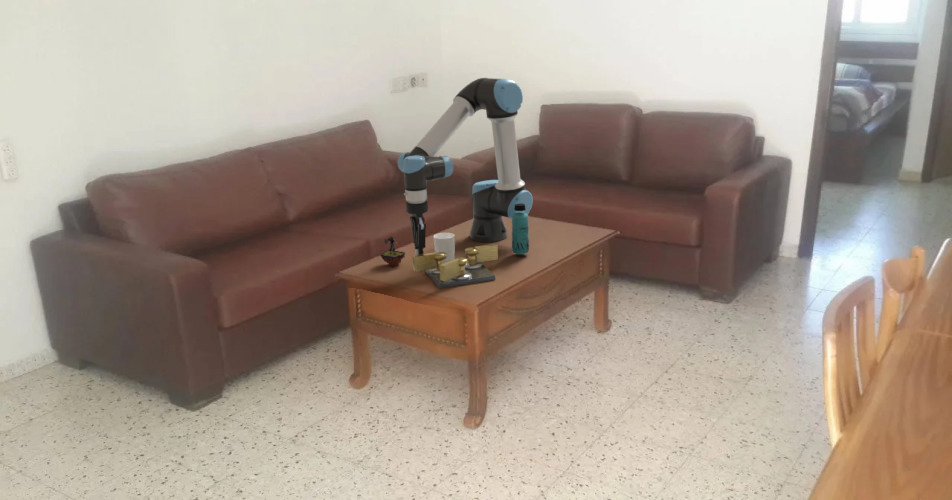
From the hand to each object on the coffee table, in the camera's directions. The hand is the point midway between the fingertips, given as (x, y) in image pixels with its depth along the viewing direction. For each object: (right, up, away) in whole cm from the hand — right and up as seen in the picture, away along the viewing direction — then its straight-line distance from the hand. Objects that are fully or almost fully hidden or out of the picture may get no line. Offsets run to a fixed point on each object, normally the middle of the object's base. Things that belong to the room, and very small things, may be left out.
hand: (420, 264), depth 281 cm
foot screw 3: (+22, +1, +3) cm, 22 cm away
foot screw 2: (+12, -4, -10) cm, 17 cm away
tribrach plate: (+14, -4, -2) cm, 15 cm away
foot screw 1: (+4, -2, -2) cm, 5 cm away
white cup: (+8, +1, +14) cm, 16 cm away
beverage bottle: (+37, +3, +17) cm, 41 cm away
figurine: (-11, 0, +12) cm, 16 cm away
